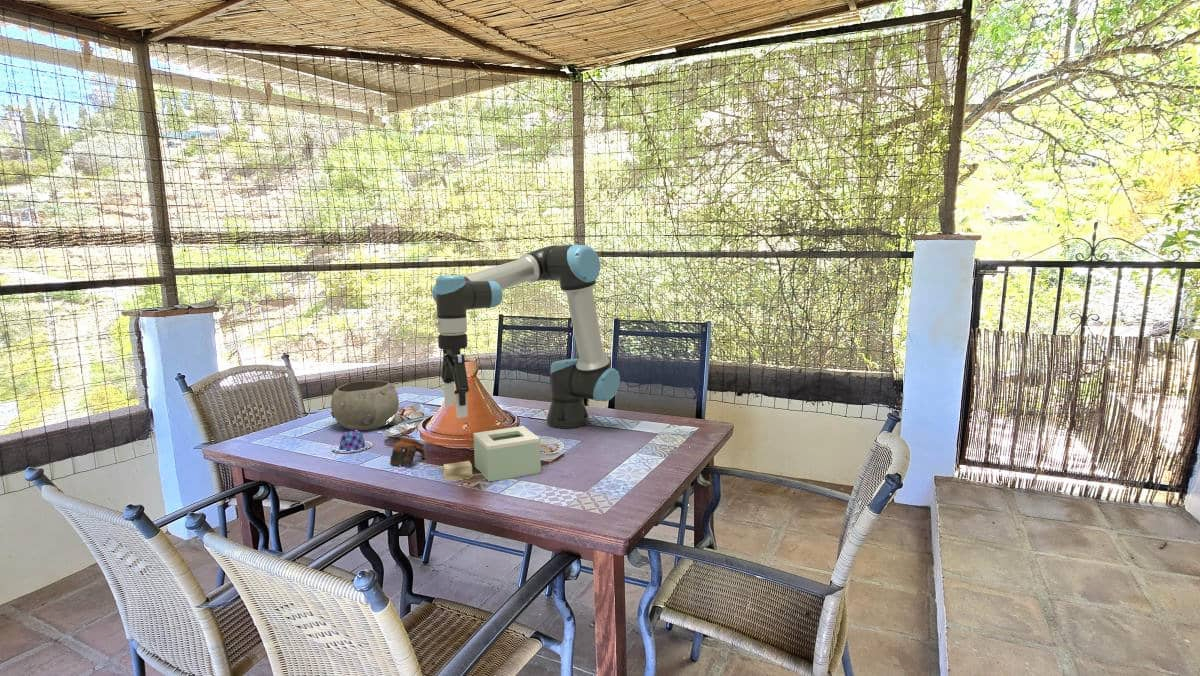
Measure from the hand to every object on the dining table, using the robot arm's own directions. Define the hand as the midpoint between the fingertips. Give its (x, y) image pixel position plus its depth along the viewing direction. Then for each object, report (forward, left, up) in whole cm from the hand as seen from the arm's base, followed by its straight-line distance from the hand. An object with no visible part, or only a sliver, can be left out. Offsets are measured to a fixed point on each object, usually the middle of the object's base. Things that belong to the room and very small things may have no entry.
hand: (455, 411), depth 165 cm
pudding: (+24, -43, -19) cm, 53 cm away
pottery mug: (+10, -20, -19) cm, 30 cm away
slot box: (-14, 0, -19) cm, 23 cm away
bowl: (+17, -69, -19) cm, 74 cm away
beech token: (0, 0, -19) cm, 19 cm away
